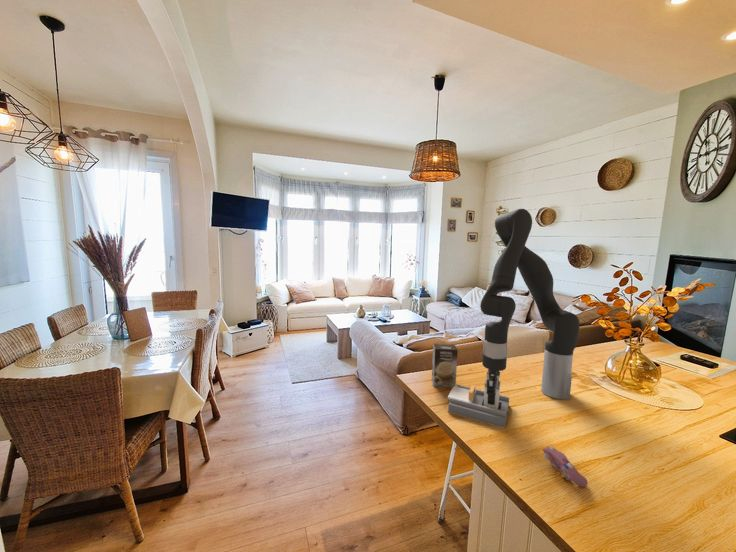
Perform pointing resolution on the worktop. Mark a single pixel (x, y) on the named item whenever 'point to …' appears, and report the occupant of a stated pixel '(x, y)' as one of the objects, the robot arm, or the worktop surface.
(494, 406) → the plug
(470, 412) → the grey sliding panel box
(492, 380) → the robot arm
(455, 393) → the shutter
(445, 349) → the coffee box
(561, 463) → the pink curved piece
